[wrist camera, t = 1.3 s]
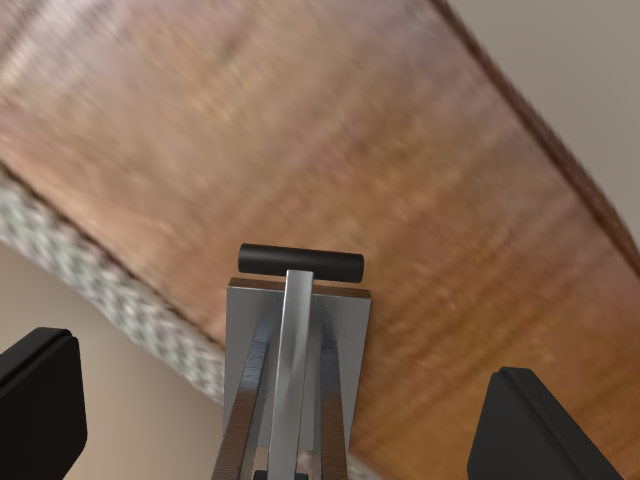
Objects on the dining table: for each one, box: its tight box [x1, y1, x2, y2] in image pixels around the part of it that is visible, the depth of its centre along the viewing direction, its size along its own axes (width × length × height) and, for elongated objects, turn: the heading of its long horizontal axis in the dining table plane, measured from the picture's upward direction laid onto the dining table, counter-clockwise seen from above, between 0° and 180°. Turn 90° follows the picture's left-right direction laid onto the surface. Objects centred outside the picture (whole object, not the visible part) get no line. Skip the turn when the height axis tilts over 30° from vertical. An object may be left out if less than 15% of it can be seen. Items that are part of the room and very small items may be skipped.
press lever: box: [238, 243, 364, 480], centre depth 15 cm, size 12×5×2 cm, turn 176°
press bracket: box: [211, 278, 371, 480], centre depth 19 cm, size 11×8×12 cm
